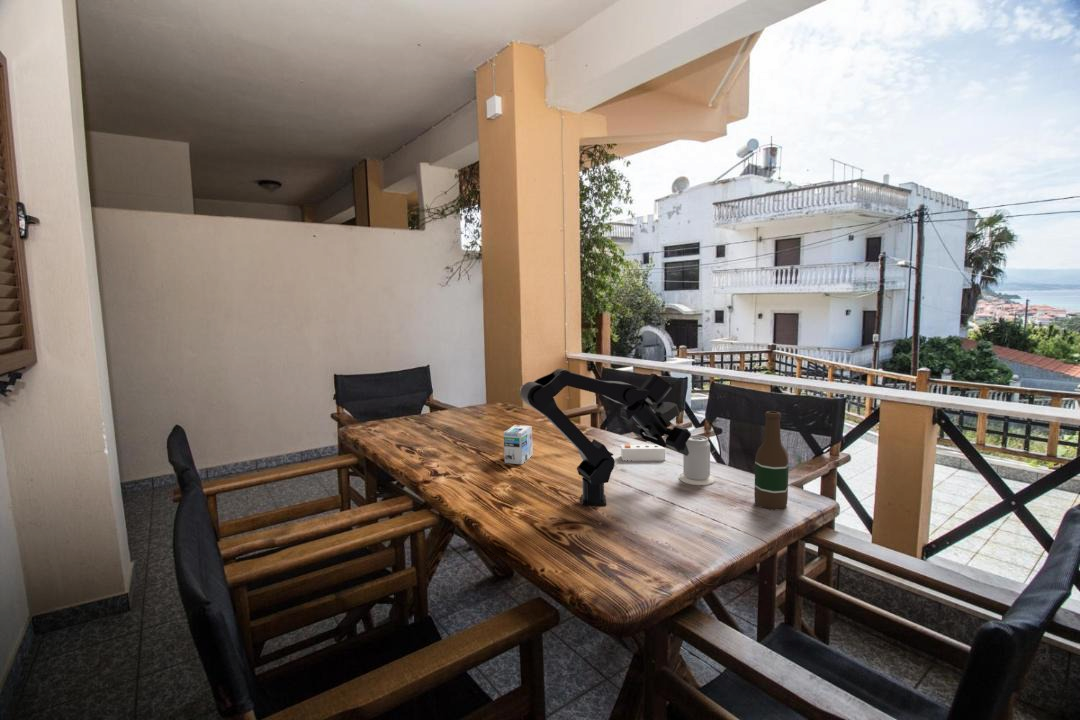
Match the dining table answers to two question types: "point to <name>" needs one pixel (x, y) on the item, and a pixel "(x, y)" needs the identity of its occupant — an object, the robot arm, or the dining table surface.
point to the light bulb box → (518, 444)
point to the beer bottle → (771, 467)
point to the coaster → (705, 482)
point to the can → (697, 458)
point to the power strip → (642, 452)
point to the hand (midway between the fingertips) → (676, 450)
